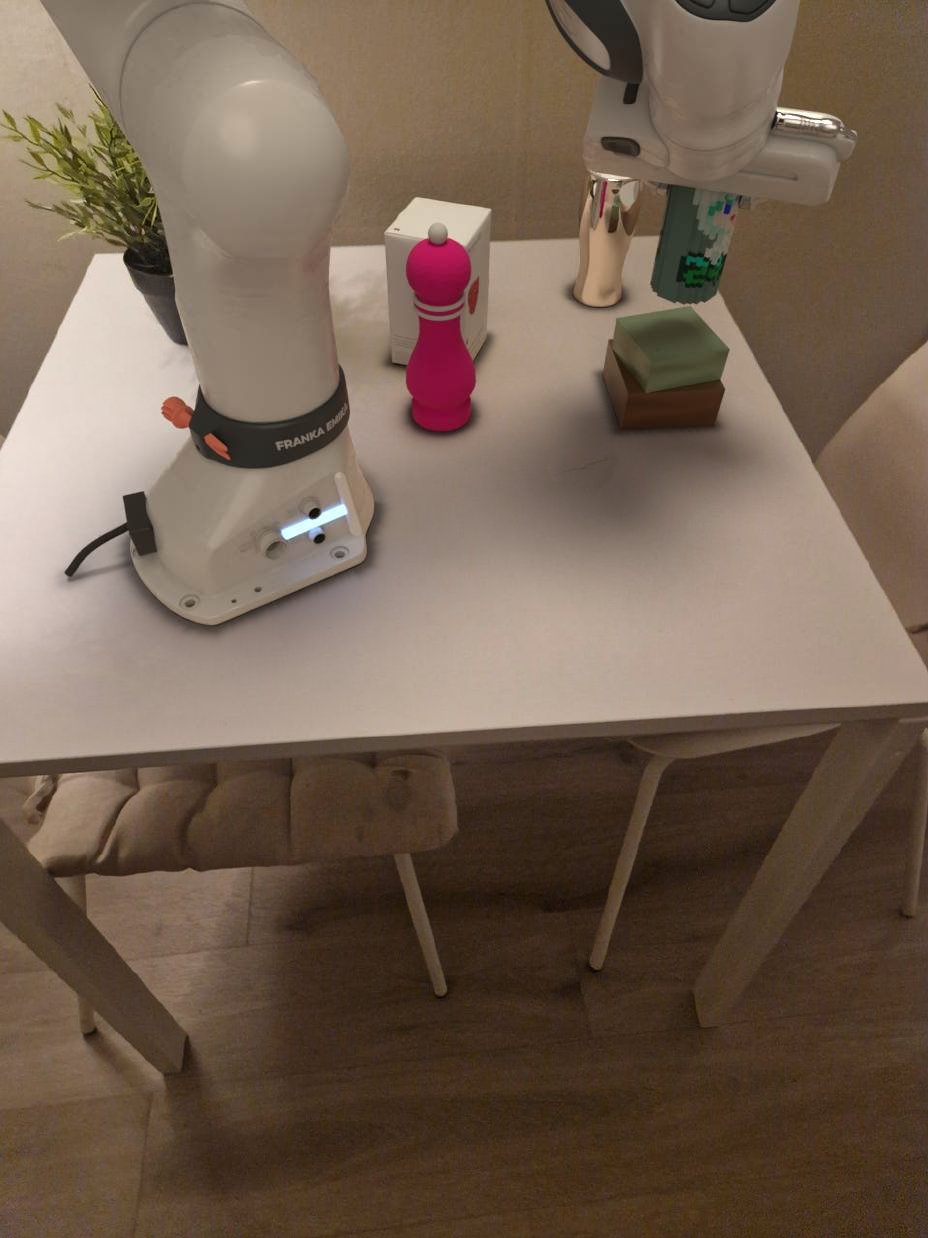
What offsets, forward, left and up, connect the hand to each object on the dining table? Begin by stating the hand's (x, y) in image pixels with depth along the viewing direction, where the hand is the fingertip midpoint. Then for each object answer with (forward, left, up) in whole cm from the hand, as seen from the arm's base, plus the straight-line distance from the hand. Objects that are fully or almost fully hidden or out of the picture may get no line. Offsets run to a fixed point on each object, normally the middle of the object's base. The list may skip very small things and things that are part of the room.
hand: (704, 194), depth 71 cm
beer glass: (+11, +19, -21) cm, 31 cm away
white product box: (-12, +23, -21) cm, 33 cm away
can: (0, 0, -9) cm, 9 cm away
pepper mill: (-20, +14, -21) cm, 32 cm away
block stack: (-1, 0, -21) cm, 21 cm away
